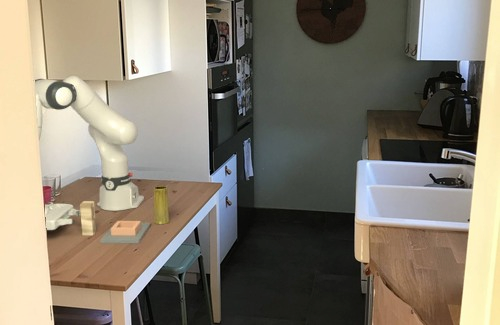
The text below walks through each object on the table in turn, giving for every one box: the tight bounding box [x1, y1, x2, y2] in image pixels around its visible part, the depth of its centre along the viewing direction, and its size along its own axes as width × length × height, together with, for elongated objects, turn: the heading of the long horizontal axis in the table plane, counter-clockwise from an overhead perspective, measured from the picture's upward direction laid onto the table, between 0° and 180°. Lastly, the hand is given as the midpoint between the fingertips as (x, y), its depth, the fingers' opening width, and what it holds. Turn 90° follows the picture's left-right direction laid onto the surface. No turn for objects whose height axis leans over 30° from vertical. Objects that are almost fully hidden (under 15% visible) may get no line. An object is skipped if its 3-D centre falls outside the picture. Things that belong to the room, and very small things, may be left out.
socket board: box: [99, 220, 152, 244], centre depth 210 cm, size 20×14×4 cm
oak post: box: [79, 200, 97, 236], centre depth 209 cm, size 4×4×12 cm
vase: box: [153, 185, 171, 225], centre depth 221 cm, size 6×6×14 cm
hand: (77, 216), depth 210 cm, fingers open, 8 cm apart
